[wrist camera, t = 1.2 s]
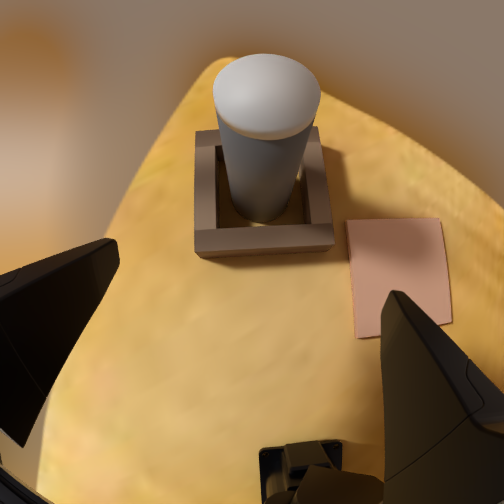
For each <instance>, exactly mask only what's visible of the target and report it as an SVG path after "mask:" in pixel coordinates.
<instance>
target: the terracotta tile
mask: <svg viewBox="0 0 504 504" xmlns="http://www.w3.org/2000/svg"><path fill="white" fill-rule="evenodd" d="M345 228H346V236H347V244H348V253H349V262H350V273H351V284H352V296H353V310H354V327H355V338H364V337H371V336H377V335H381V311H382V308H383V306H384V304H385V301H386V299H387V297H388V294H389V292H390V291H391V290H398V291H403V292H405V293H406V294H407V295H408V296H409V297H410V298H411V299H412V300H413V301H414V302H415V303H416V304H417V305H418V306H419V307H420V308H421V309H422V310H423V311H424V312H425V313H426V314H427V315H428V316H429V317H430V318H431V319H432V320H433V321H434V322H435V323H436V324H437V325H439V324H444V323H449V322H452V320H451V303H450V290H449V280H448V271H447V263H446V255H445V248H444V242H443V236H442V230H441V224H440V219H439V218H401V219H359V220H346V221H345Z"/></svg>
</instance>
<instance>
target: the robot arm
mask: <svg viewBox="0 0 504 504" xmlns="http://www.w3.org/2000/svg"><path fill="white" fill-rule="evenodd" d="M119 264H120V258H119V252H118V245H117V242H116V240H114V239H110V238H103V239H100V240H97V241H94V242H91V243H88V244H85V245H82V246H79V247H76V248H73V249H71V250H68V251H64V252H62V253H59V254H56V255H53V256H51V257H48V258H45V259H43V260H39V261H37V262H34V263H31V264H29V265H26V266H23V267H22V268H18V269H16V270H13V271H10V272H8V273H5V274H2V275H0V431H1V432H2V433H4V434H5V435H6V436H7V437H9V438H10V439H11V440H13V442H15V443H16V444H17V445H19V446H20V447H21V448H24V446H25V444H26V442H27V439H28V437H29V435H30V433H31V430H32V428H33V426H34V424H35V421H36V419H37V417H38V415H39V413H40V410H41V409H42V407H43V404H44V403H45V401H46V397H47V396H48V394H49V392H50V390H51V388H52V386H53V384H54V382H55V380H56V379H57V377H58V375H59V373H60V371H61V369H62V367H63V365H64V364H65V362H66V360H67V358H68V356H69V355H70V353H71V351H72V349H73V347H74V346H75V344H76V342H77V340H78V339H79V337H80V335H81V334H82V332H83V330H84V329H85V327H86V325H87V324H88V322H89V320H90V319H91V317H92V315H93V314H94V312H95V310H96V309H97V307H98V306H99V304H100V302H101V300H102V299H103V297H104V295H105V293H106V291H107V289H108V287H109V285H110V283H111V281H112V279H113V277H114V275H115V273H116V271H117V269H118V267H119ZM380 359H381V372H382V385H383V401H384V426H385V475H384V482H385V483H383V482H381V481H380V480H379V479H377V478H376V477H374V476H371V475H364V474H357V473H351V472H345V471H341V468H342V443H341V442H340V440H330V441H324V442H319V441H310V442H301V443H292V444H286V445H285V446H281V447H268V448H262V449H260V451H259V466H260V482H261V497H262V504H504V394H503V393H502V392H501V391H500V390H499V389H498V388H497V387H496V386H495V385H494V384H493V383H492V382H491V381H490V380H489V379H488V378H487V377H486V376H485V375H484V373H483V372H482V371H481V370H480V369H479V368H478V367H477V366H476V365H475V364H474V363H473V362H472V360H471V359H468V356H467V355H466V354H465V353H464V352H463V351H462V350H461V349H460V348H459V347H458V346H457V344H456V343H455V342H454V341H453V340H452V339H451V338H450V337H449V336H448V335H447V334H446V333H445V332H444V331H443V330H442V329H441V328H440V327H439V326H438V325H437V324H436V323H435V322H434V321H433V320H432V319H431V318H430V317H429V316H428V315H427V314H426V313H425V312H424V311H423V310H422V309H421V308H420V307H419V306H418V305H417V304H416V303H415V302H414V301H413V300H412V299H411V298H410V297H409V296H408V295H407V294H406V293H405V292H403V291H398V290H391V291H390V292H389V294H388V297H387V299H386V301H385V304H384V306H383V308H382V311H381V346H380ZM335 444H338V446H337V447H333V446H334V445H335ZM265 452H267V453H268V455H266V456H265V455H263V453H265ZM0 504H54V503H53V502H51V501H49V500H48V499H46V498H45V497H43V496H42V495H41V494H39V493H38V492H36V491H35V490H33V489H32V488H31V487H29V486H28V485H27V484H25V483H24V482H23V481H21V480H20V479H18V478H17V477H16V476H15V475H14V474H12V473H11V472H10V471H9V470H7V469H6V468H5V467H4V466H3V465H2V460H1V456H0Z"/></svg>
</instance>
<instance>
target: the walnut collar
mask: <svg viewBox="0 0 504 504" xmlns="http://www.w3.org/2000/svg"><path fill="white" fill-rule="evenodd" d="M218 161H225V159H224V153H223V147H222V142H221V136H220V131H219V129H217V130H205V131H196V136H195V175H194V246H195V253H196V254H197V255H198V256H199V257H200V258H215V257H233V256H252V255H270V254H288V253H306V252H324V251H328V250H329V249H330V248H331V247H332V246H334V245H335V239H334V230H333V222H332V214H331V207H330V199H329V192H328V185H327V179H326V172H325V166H324V160H323V154H322V148H321V143H320V137H319V132H318V127H317V126H312V128H311V132H310V135H309V138H308V141H307V145H306V148H305V151H304V154H303V158H302V161H301V164H300V167H299V177H300V185H301V194H302V202H303V212H304V221H305V224H299V225H277V226H257V227H239V228H222V229H220V223H219V180H218Z"/></svg>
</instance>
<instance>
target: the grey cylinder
mask: <svg viewBox="0 0 504 504" xmlns="http://www.w3.org/2000/svg"><path fill="white" fill-rule="evenodd" d="M213 96H214V102H215V108H216V113H217V119H218V125H219V131H220V136H221V142H222V147H223V153H224V159H225V164H226V170H227V175H228V181H229V186H230V192H231V197H232V202H233V205H234V207H235V209H236V210H237V212H238V213H239V214H240V215H241V216H242V217H244V218H246V219H247V220H250V221H253V222H268V221H272V220H274V219H276V218H277V217H279V216H280V215H281V214H282V213H283V212H284V211H285V209H286V207H287V205H288V202H289V199H290V196H291V193H292V189H293V186H294V183H295V180H296V177H297V174H298V170H299V167H300V164H301V161H302V158H303V154H304V151H305V148H306V145H307V141H308V138H309V135H310V132H311V128H312V125H313V122H314V119H315V115H316V112H317V109H318V105H319V102H320V97H321V92H320V87H319V84H318V81H317V80H316V78H315V77H314V75H313V74H312V73H311V72H310V71H309V70H308V69H307V68H306V67H305V66H303V65H302V64H300V63H299V62H297V61H295V60H292V59H290V58H287V57H284V56H279V55H274V54H255V55H249V56H245V57H242V58H239V59H237V60H235V61H233V62H231V63H230V64H228V65H227V66H226V67H224V68H223V69H222V70H221V71H220V73H219V74H218V75H217V77H216V79H215V82H214V85H213Z"/></svg>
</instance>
